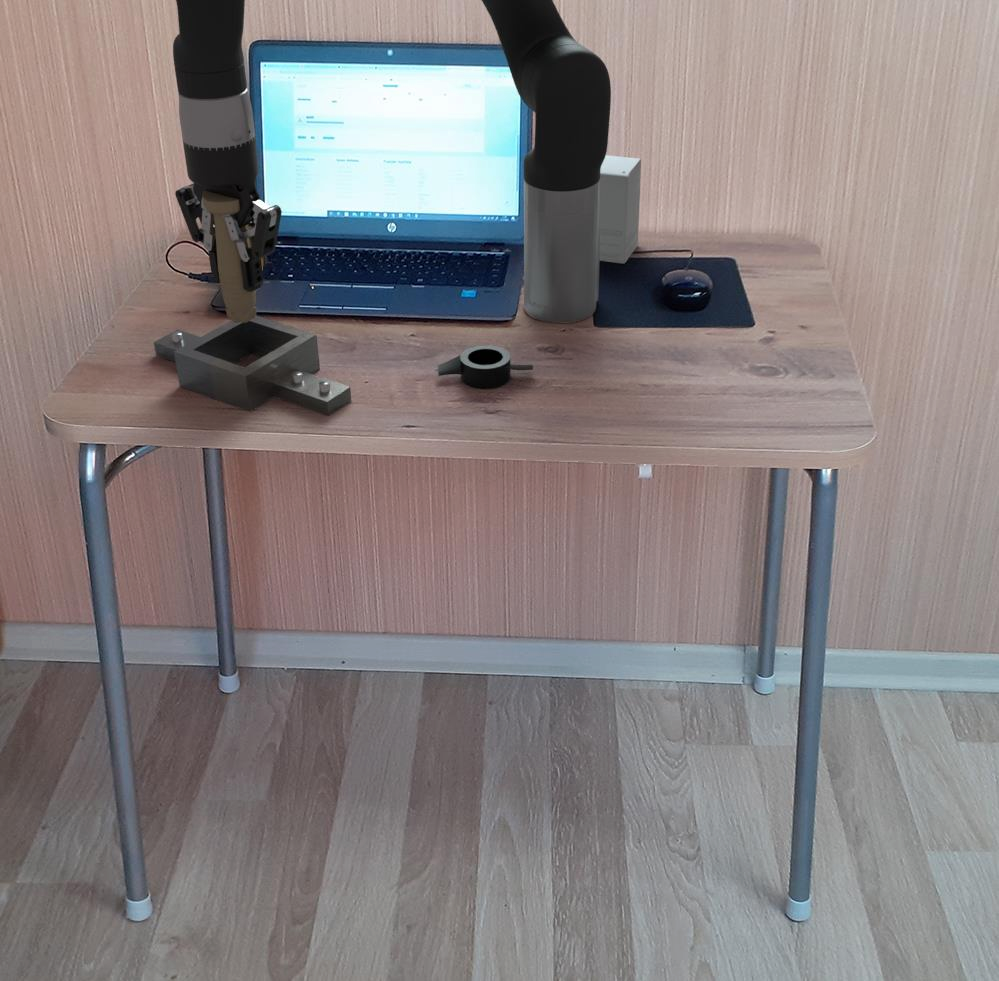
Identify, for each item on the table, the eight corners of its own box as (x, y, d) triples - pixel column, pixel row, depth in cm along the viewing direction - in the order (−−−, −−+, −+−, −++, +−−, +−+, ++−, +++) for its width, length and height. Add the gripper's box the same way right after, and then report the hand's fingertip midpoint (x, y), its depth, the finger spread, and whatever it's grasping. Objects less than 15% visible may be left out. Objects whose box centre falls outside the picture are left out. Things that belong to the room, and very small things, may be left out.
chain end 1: (131, 368, 155) (124, 334, 152) (203, 330, 163) (198, 297, 160) (214, 398, 148) (209, 363, 146) (284, 357, 157) (280, 323, 154)
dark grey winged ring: (505, 404, 147) (504, 381, 145) (431, 382, 151) (430, 360, 150) (539, 375, 152) (539, 353, 151) (467, 355, 157) (467, 334, 155)
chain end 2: (214, 398, 148) (209, 363, 146) (284, 357, 157) (280, 323, 154) (304, 431, 142) (300, 395, 139) (373, 386, 150) (370, 351, 148)
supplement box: (639, 245, 184) (643, 157, 177) (624, 265, 178) (628, 175, 171) (589, 238, 186) (591, 151, 179) (573, 258, 180) (574, 169, 173)
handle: (266, 305, 151) (252, 180, 143) (260, 330, 146) (244, 201, 137) (224, 306, 151) (207, 181, 142) (216, 331, 145) (198, 202, 137)
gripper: (293, 135, 136) (308, 286, 145) (195, 112, 142) (215, 259, 152) (244, 155, 131) (262, 311, 140) (144, 131, 137) (168, 281, 147)
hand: (238, 283), depth 146 cm, fingers closed on handle, 4 cm apart
